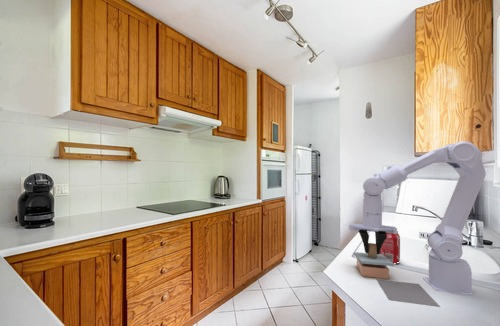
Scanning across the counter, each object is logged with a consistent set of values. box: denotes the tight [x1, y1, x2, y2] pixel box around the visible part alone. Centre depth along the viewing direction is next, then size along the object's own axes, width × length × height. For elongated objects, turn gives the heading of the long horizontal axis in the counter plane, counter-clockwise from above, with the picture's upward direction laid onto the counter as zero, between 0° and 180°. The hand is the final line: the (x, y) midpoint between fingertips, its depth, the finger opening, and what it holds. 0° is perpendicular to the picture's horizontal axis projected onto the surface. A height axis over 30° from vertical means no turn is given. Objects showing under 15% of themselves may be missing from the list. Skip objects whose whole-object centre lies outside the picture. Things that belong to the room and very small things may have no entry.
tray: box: [356, 258, 390, 280], centre depth 80 cm, size 8×8×4 cm
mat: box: [375, 278, 441, 308], centre depth 67 cm, size 12×12×1 cm
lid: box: [353, 242, 394, 267], centre depth 79 cm, size 10×10×5 cm
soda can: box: [380, 230, 401, 263], centre depth 89 cm, size 7×7×12 cm
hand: (371, 252), depth 80 cm, fingers closed on lid, 3 cm apart
